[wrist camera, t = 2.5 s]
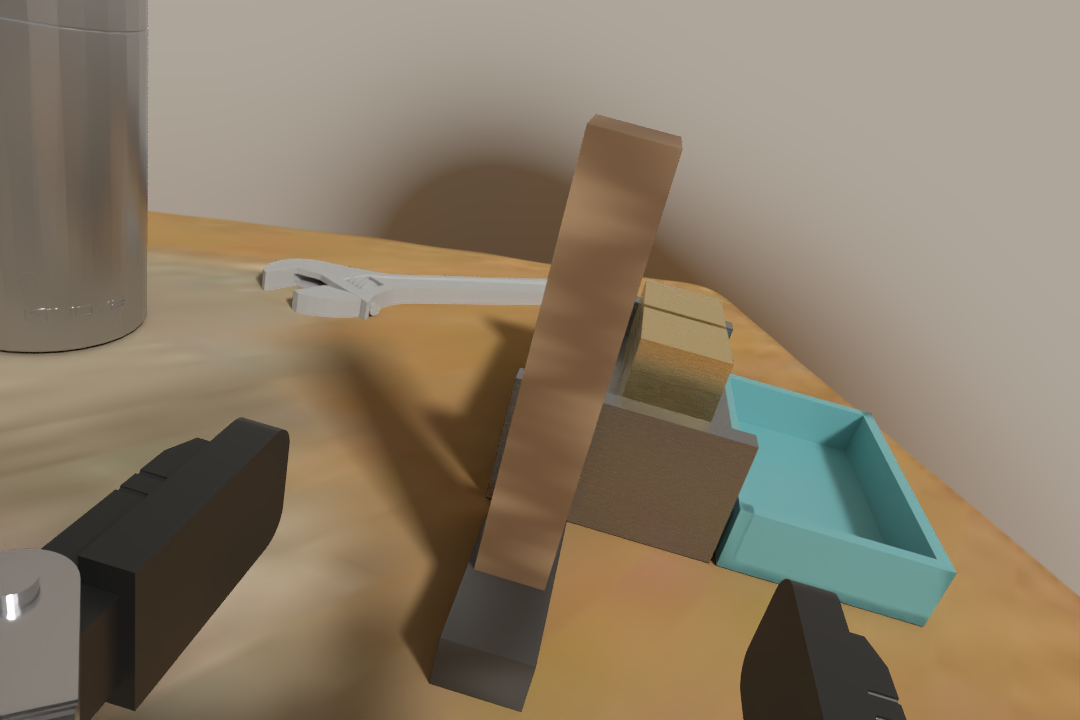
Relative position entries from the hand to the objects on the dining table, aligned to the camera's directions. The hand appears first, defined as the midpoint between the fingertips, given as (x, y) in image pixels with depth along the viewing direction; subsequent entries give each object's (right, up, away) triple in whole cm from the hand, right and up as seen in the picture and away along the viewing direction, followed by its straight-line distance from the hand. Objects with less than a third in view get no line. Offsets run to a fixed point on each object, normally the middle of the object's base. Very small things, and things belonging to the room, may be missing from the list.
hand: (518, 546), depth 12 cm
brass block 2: (+6, +1, +23) cm, 23 cm away
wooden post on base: (-1, -6, +15) cm, 16 cm away
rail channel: (+4, -2, +26) cm, 27 cm away
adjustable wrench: (-6, +6, +39) cm, 40 cm away
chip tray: (+13, -4, +26) cm, 30 cm away
